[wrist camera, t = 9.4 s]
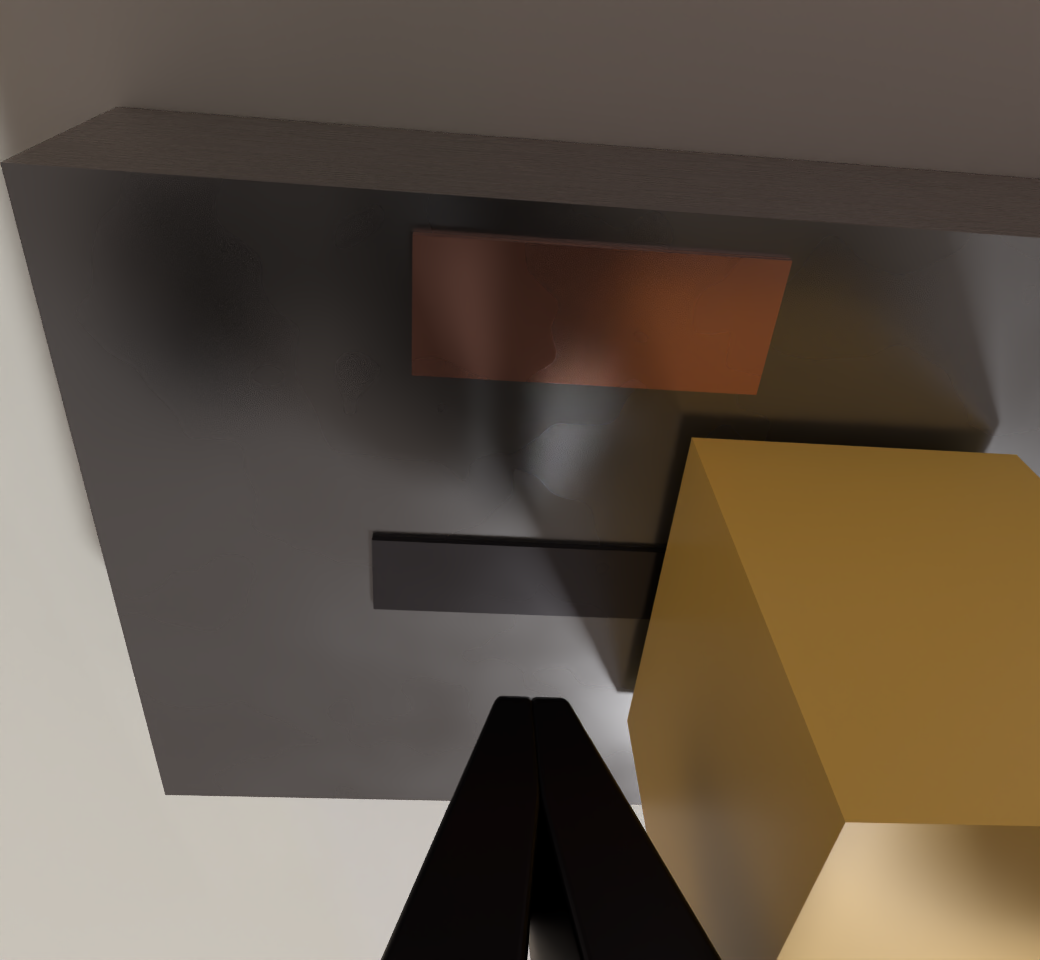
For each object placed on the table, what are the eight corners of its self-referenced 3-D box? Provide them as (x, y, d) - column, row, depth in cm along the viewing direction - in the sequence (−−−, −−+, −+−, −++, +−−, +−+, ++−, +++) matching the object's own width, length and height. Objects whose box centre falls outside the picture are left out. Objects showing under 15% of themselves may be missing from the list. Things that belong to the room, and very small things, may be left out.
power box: (1662, 227, 12) (1983, 308, 9) (1265, 693, 18) (1398, 824, 15) (116, 107, 10) (-6, 165, 8) (215, 660, 16) (163, 800, 13)
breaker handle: (1016, 454, 10) (1397, 833, 6) (882, 728, 13) (1073, 1117, 9) (691, 437, 10) (846, 822, 5) (627, 720, 12) (696, 1118, 8)
